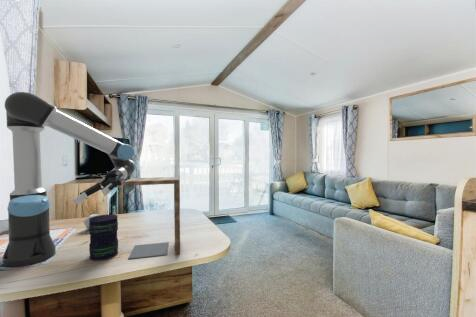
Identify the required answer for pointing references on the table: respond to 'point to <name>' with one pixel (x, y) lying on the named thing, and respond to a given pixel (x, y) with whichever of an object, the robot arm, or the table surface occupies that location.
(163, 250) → the pad
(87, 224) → the die
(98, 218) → the rusty oil drum
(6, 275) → the table surface
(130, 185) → the wooden gallows frame
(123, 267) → the table surface
